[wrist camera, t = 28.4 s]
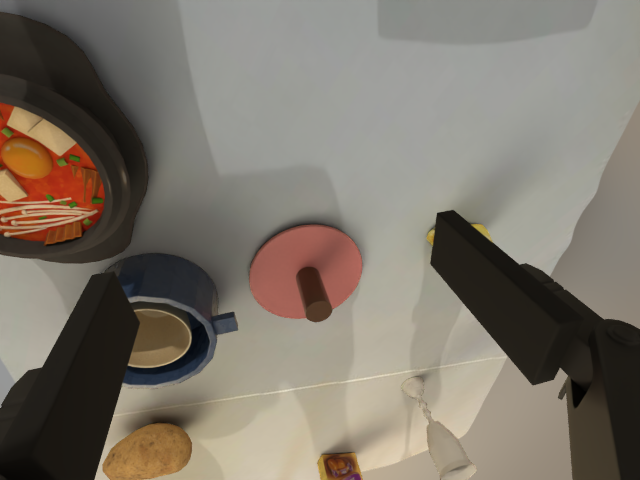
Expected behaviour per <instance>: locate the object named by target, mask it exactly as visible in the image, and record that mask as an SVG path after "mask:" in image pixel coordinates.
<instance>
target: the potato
mask: <svg viewBox="0 0 640 480" xmlns="http://www.w3.org/2000/svg"><path fill="white" fill-rule="evenodd" d="M191 452H192V442H191V440H190V438H189V436H188V434H187V433H186V432H185V431H184V430H183V429H182V428H180V427H178V426H176V425H172V424H168V423H155V424H149V425H146V426H144V427H142V428H140V429H138V430H136V431H135V432H133V433H131V434H130V435H128V436H127V437H125V438H124V439H123V440H121V441H120V442H118V443H117V444H116V445H115V446H114V447H113V448H112V449H111V450H110V452H109V454H108V456H107V458H106V459H105V461H104V463H103V472H104V473H105V474H106V475H107V477H108V478H109V479H110V480H143V479H151V478H155V477H159V476H163V475H167V474H172V473H175V472H178V471H179V470H181V469H182V468H183V467H184V466H186V465H187V463H188V461H189V460H190V457H191Z"/></svg>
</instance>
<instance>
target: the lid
mask: <svg viewBox="0 0 640 480" xmlns="http://www.w3.org/2000/svg"><path fill="white" fill-rule="evenodd" d="M361 273H362V258H361V254H360V252H359V250H358V248H357V246H356V244H355V243H354V242H353V240H352V239H351V238H350V237H349V236H347V235H346V234H345V233H343V232H341V231H340V230H338V229H335V228H333V227H329V226H325V225H301V226H297V227H293V228H290V229H287V230H285V231H283V232H281V233H279V234H277V235H276V236H274V237H272V238H271V239H270V240H269V241H267V242H266V243H265V244H264V245H263V246H262V247H261V248H260V250H259V251H258V252H257V254H256V256H255V257H254V259H253V261H252V264H251V267H250V272H249V283H250V288H251V291H252V294H253V296H254V298H255V299H256V300H257V302H258V303H259V304H260V305H261V306H262V307H263V308H265V309H266V310H267V311H269V312H271V313H273V314H275V315H278V316H281V317H285V318H295V319H301V318H307V319H308V320H310V321H312V322H320V321H323V320H325V319H327V318H328V317H329V316H330V315H331V313H332V309H334V308H336V307H337V306H339V305H340V304H341V303H343V302H344V301H345V300H346V299H347V298H348V297H349V296H350V295H351V294H352V292H353V291H354V290H355V288H356V286H357V284H358V282H359V280H360V277H361Z"/></svg>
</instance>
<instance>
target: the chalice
mask: <svg viewBox="0 0 640 480" xmlns="http://www.w3.org/2000/svg"><path fill="white" fill-rule="evenodd" d="M401 389H402V390H403V391H404V392H405V393H406V394H407V395H408V396H409V397H411V398H416V399H417V400H418V401H419V408H422V410H423V412H424V416H425V417H426V418H427V419H428V421H429V425H428V426H427V442H428V448H429V453H430V455H431V457H432V459H433V461H434V463H435V465H436V468H437V470H438V472H439V474H440V480H467V479H469V478H470V477H472V476H473V475H474V474H475V472H476V470H477V467H476V466H475V465H474V464H473V463H472V462H470V460H469V459H468V457H467V455H466V453H465V451H464V450H463V448H462V446H461V444H460V442H459V440H458V439H457V438H456V437H455V436H454V435H453V434H452V433H451V432H450V431H449V430H448V429H447V428H446V427H444V426H443V425H442V424H441V423H440V422H438V421H433V419H432V417H431V412H430V411H429V410H428V409H427V407H426V405H427V403H425V402H424V401H423V400H422V397H421V396H422V394H423V392H424V384H423V379H422V378H421V377H413V378H410V379H408V380H406V381H405V382H404V383H403V384H402V386H401Z"/></svg>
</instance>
